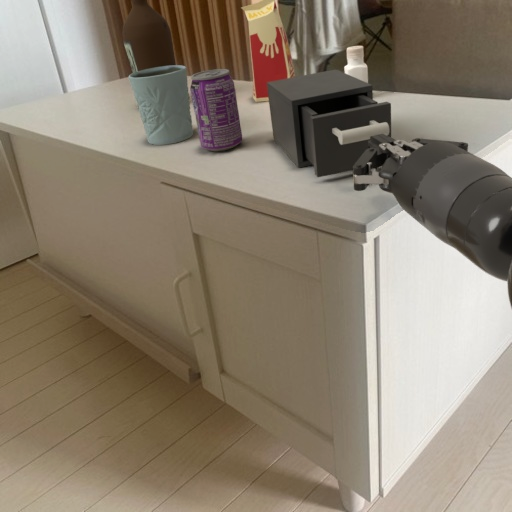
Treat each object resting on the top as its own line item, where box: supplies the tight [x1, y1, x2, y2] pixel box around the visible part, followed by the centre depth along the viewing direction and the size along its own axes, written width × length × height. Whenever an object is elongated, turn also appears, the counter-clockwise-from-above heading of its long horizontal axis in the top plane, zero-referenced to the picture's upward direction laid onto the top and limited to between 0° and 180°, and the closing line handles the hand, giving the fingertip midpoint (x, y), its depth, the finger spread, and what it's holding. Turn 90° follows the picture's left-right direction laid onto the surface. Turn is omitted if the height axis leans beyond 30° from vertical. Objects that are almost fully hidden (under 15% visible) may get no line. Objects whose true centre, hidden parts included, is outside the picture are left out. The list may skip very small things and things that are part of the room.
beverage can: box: [189, 68, 243, 152], centre depth 88 cm, size 7×7×12 cm
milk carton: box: [240, 0, 296, 103], centre depth 113 cm, size 9×9×20 cm
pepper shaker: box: [343, 45, 369, 84], centre depth 105 cm, size 4×4×10 cm
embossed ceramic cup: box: [128, 64, 194, 146], centre depth 98 cm, size 10×10×12 cm
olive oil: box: [121, 0, 177, 74], centre depth 120 cm, size 11×11×25 cm
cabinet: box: [267, 69, 374, 169], centre depth 82 cm, size 15×12×10 cm
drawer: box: [298, 93, 392, 178], centre depth 73 cm, size 18×10×8 cm, turn 12°
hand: (375, 143), depth 62 cm, fingers closed
